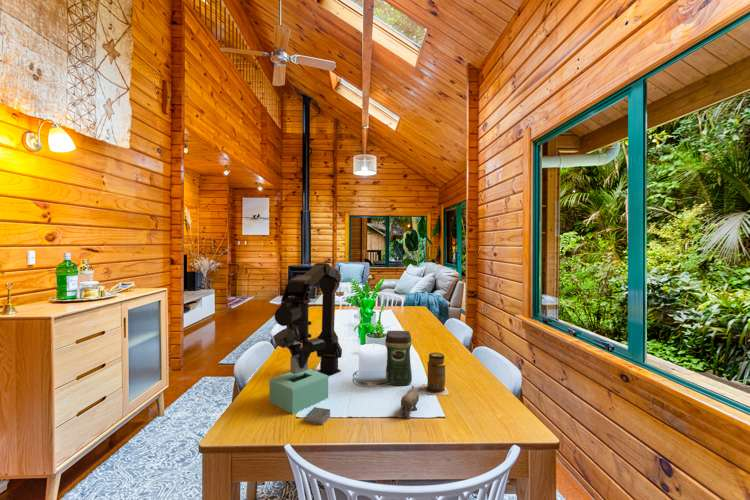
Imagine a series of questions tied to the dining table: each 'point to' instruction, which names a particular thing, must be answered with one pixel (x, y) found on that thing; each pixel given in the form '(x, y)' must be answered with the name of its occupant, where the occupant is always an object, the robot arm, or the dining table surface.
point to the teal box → (298, 390)
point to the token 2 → (318, 416)
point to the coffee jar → (398, 358)
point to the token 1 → (297, 365)
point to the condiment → (436, 375)
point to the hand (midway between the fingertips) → (299, 367)
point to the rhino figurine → (410, 401)
